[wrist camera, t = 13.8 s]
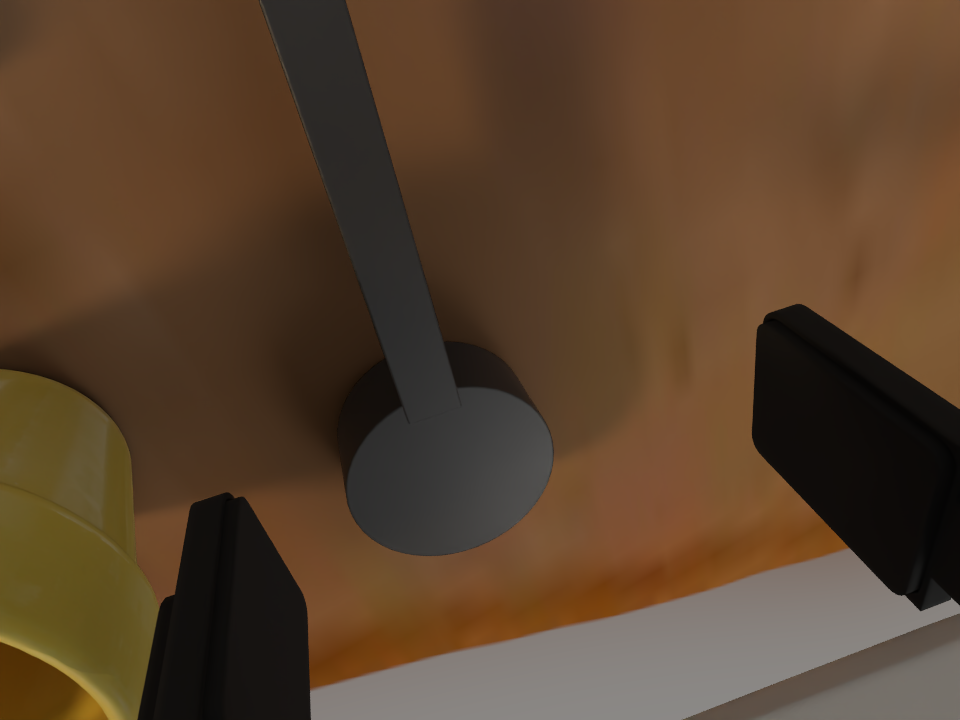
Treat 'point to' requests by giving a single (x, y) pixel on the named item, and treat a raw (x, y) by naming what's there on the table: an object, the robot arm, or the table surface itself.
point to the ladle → (405, 330)
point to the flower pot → (68, 559)
